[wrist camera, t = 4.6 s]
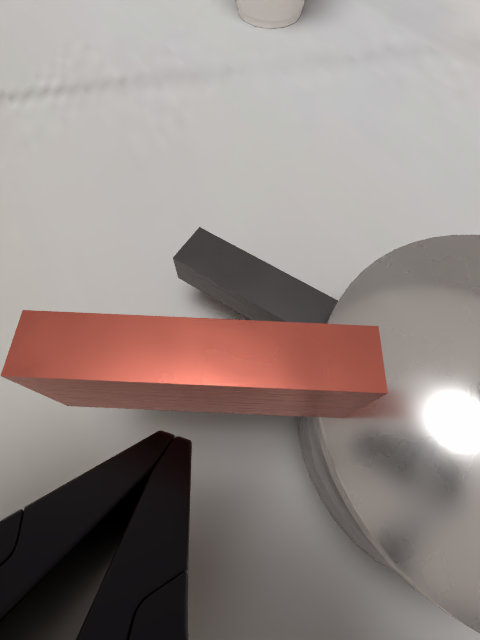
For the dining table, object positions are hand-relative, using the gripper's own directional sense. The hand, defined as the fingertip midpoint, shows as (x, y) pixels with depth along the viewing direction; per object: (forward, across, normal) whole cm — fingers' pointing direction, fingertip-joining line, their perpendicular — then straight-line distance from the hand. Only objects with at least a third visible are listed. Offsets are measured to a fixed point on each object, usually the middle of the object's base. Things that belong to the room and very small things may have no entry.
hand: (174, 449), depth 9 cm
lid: (+6, -7, 0) cm, 9 cm away
